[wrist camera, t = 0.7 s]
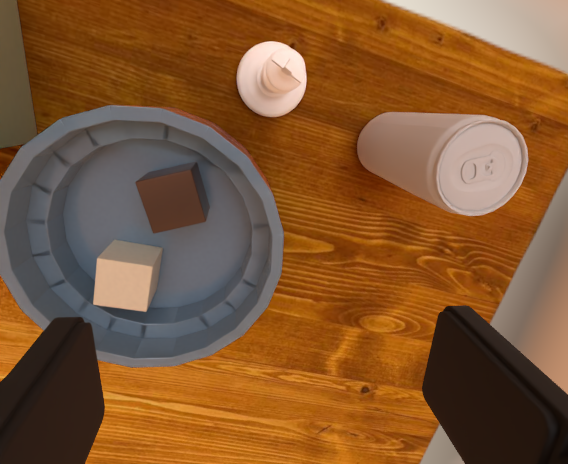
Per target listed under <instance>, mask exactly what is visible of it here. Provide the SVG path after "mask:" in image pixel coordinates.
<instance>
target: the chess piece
mask: <svg viewBox="0 0 568 464" xmlns="http://www.w3.org/2000/svg"><path fill="white" fill-rule="evenodd" d="M306 81H307V78H306V70H305V63H304V60H303V58H302V57H301V55H300V54H299V53H298V52H297V51H295V50H293V49H292V48H290V47H289V46H287V45H285V44H283V43H280V42H273V41H270V42H263V43H260V44H257V45H255V46H254V47H252V48H251V49H250V50H248V51H247V52H246V54H245V55H244V56H243V58H242V59H241V61H240V64H239V66H238V70H237V87H238V91H239V94H240V96H241V98H242V100H243V101H244V103H245V104H246V105H247V106H248V107H249V108H250V109H251V110H252V111H254V112H255V113H257V114H259V115H262V116H266V117H278V116H282V115H285V114H287V113H289V112H290V111H292V110H293V109H294V108H295V107H296V106H297V105H298V104H299V102H300V101H301V99H302V97H303V95H304V92H305V89H306Z"/></svg>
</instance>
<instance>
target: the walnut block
mask: <svg viewBox="0 0 568 464" xmlns="http://www.w3.org/2000/svg"><path fill="white" fill-rule="evenodd" d="M135 183H136V186H137V189H138V192H139V195H140V198H141V200H142V203H143V206H144V209H145V212H146V215H147V217H148V220H149V223H150V226H151V229H152V232H153V233H154V234H155V233H159V232H164V231H168V230H172V229H177V228H181V227H185V226H190V225H194V224H198V223H203V222H206V220H207V216H208V212H209V209H210V206H209V202H208V199H207V195H206V192H205V188H204V185H203V181H202V178H201V174H200V171H199V167H198V164H197V162H192V163H187V164H183V165H178V166H174V167H169V168H165V169H160V170H156V171H151V172H148V173H147V174H146V175H144V176H143V177H141V178H140V179H139V180H137V181H136V182H135Z"/></svg>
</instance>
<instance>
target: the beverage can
mask: <svg viewBox="0 0 568 464" xmlns="http://www.w3.org/2000/svg"><path fill="white" fill-rule="evenodd" d="M357 153H358V157H359V160H360V161H361V163H362V165H363V166H364V167H365V168H366V169H367V170H368V171H370V172H372V173H374V174H376V175H378V176H380V177H382V178H383V179H385V180H387V181H389V182H391V183H393V184H395V185H396V186H398V187H400V188H402V189H404V190H406V191H408V192H410V193H412V194H414V195H416V196H418V197H420V198H422V199H424V200H426V201H428V202H430V203H432V204H434V205H436V206H438V207H440V208H442V209H444V210H446V211H448V212H451V213H456V214H462V215H467V216H477V215H484V214H487V213H489V212H492V211H494V210H496V209H498V208H499V207H501V206H502V205H504V204H505V203H506V202H507V201H508V200H509V199H510V198H511V197H512V196H513V195H514V194H515V193H516V191H517V190H518V188H519V187H520V185H521V183H522V181H523V178H524V176H525V174H526V169H527V164H528V152H527V146H526V143H525V140H524V138H523V136H522V135H521V133H520V132H519V131H518V130H517V128H516V127H514V126H513V125H511V124H509V123H508V122H506V121H502V120H499V119H498V118H494V117H490V116H486V115H468V114H438V113H409V112H387V113H383V114H381V115H378V116H376V117H375V118H374V119H372V120H371V121H370V122H369V123H368V124H367V125H366V126H365V127H364V128H363V130H362V131H361V133H360V135H359V138H358V142H357Z"/></svg>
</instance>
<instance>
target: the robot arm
mask: <svg viewBox="0 0 568 464" xmlns="http://www.w3.org/2000/svg"><path fill="white" fill-rule="evenodd" d="M422 391H423V395H424V398H425V400H426V402H427V404H428V405H429V407H430V408H431V410H432V412H433V413H434V415H435V416H436V418H437V420H438V421H439V423H440V424H441V426H442V428H443V429H444V431H445V432H446V434H447V436H448V437H449V439H450V440H451V442H452V444H453V445H454V447H455V448H456V450H457V452H458V453H459V455H460V456H461V458H462V460H463V461H464V463H465V464H568V395H567V394H566V393H565V392H564V391H563V390H562V389H561V388H560V387H558V386H557V385H556V384H555V383H554V382H553V381H552V380H551V379H550V378H549V377H548V376H546V375H545V374H544V373H543V372H542V371H541V370H539V368H537V367H536V366H535V365H534V364H533V363H532V362H531V361H530V360H529V359H527V358H526V357H525V356H524V355H523V354H522V353H521V352H520V351H518V350H517V349H516V348H515V347H514V346H513V345H512V344H511V343H510V342H509V341H507V340H506V339H505V338H504V337H503V336H502V335H500V334H499V333H498V332H497V331H496V330H495V329H494V328H493V327H492V326H491V325H490V324H489V323H487V322H486V321H485V320H484V319H483V318H482V317H481V316H480V315H478V314H477V313H476V312H475V311H474V310H473V309H472V308H470V307H469V306H447V307H446V308H445V309H444V311H442V312H440V313H439V315H438V319H437V323H436V328H435V332H434V337H433V341H432V345H431V350H430V354H429V359H428V363H427V368H426V372H425V377H424V381H423V386H422ZM104 409H105V406H104V398H103V392H102V386H101V380H100V373H99V367H98V361H97V355H96V348H95V342H94V336H93V330H92V325H91V323H89V322H84V319H83V318H82V317H57V318H55V319H53V320H52V322H51V323H50V324H49V325H48V326H47V328H46V329H45V330H44V331H43V333H42V334H41V335H40V336H39V338H38V339H37V340H36V341H35V342H34V344H33V345H32V346H31V347H30V349H29V350H28V351H27V352H26V353H25V355H24V356H23V357H22V358H21V360H20V361H19V362H18V363H17V364H16V366H15V367H14V368H13V369H12V371H11V372H10V373H9V374H8V375H7V377H5V378H4V379H3V380H2V381H1V382H0V464H85V462H86V459H87V457H88V454H89V452H90V450H91V447H92V445H93V442H94V440H95V437H96V435H97V433H98V430H99V428H100V425H101V423H102V420H103V416H104Z"/></svg>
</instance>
